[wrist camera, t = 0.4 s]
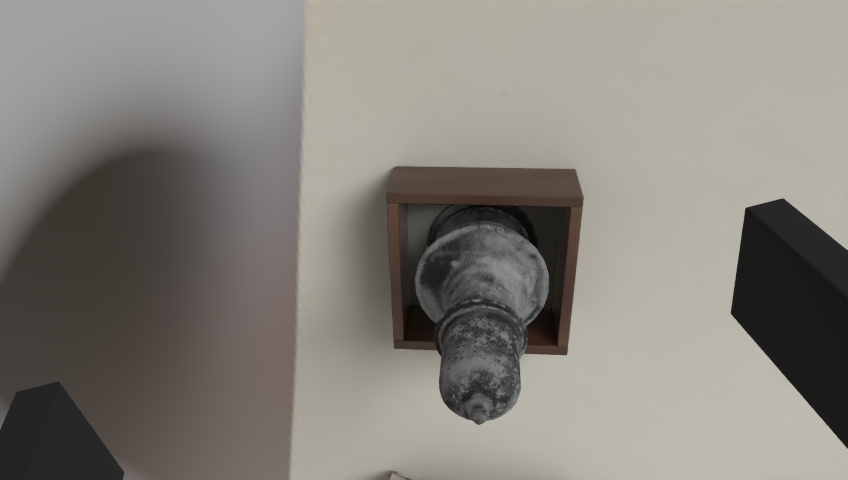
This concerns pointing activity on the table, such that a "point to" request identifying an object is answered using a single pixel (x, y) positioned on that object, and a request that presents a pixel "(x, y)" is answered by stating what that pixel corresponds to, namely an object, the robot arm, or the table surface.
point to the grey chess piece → (481, 303)
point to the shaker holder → (484, 189)
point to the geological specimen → (396, 476)
